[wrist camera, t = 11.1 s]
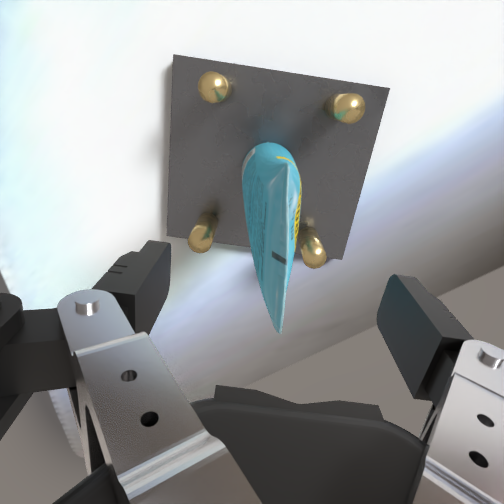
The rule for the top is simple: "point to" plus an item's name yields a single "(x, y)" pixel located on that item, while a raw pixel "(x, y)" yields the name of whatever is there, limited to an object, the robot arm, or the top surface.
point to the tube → (272, 220)
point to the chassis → (262, 131)
